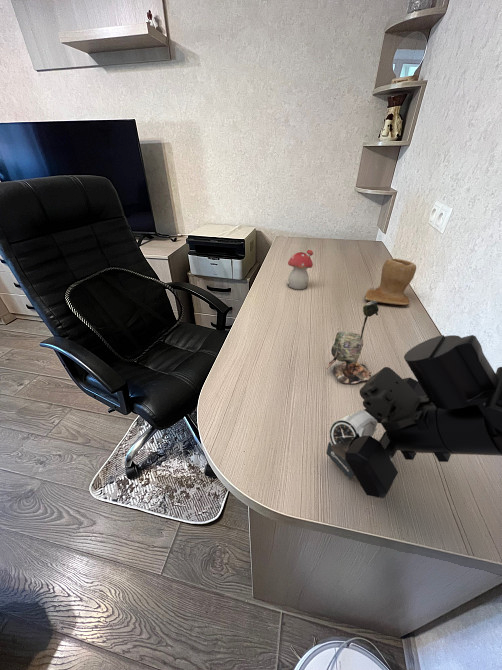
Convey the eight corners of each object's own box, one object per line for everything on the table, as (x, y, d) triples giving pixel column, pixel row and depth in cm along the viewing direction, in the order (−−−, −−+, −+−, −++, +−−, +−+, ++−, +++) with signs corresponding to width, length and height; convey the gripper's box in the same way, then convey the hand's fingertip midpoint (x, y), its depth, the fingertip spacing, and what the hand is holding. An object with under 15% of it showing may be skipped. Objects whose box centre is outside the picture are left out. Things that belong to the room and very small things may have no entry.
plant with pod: (323, 360, 74) (337, 293, 63) (368, 366, 72) (390, 297, 61) (324, 382, 68) (339, 311, 56) (373, 388, 66) (399, 316, 54)
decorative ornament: (311, 285, 113) (316, 248, 104) (307, 292, 108) (312, 254, 99) (289, 281, 116) (292, 245, 107) (284, 288, 111) (287, 250, 102)
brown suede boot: (404, 295, 106) (418, 256, 97) (409, 310, 96) (425, 269, 88) (363, 290, 109) (372, 252, 101) (363, 304, 100) (374, 264, 91)
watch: (317, 458, 48) (326, 417, 42) (350, 437, 52) (363, 396, 45) (341, 486, 44) (355, 445, 38) (375, 461, 48) (393, 420, 42)
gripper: (437, 335, 38) (348, 361, 51) (381, 416, 27) (285, 423, 40) (479, 405, 38) (379, 413, 51) (441, 513, 27) (325, 490, 40)
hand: (346, 431), depth 45 cm, fingers closed on watch, 8 cm apart
